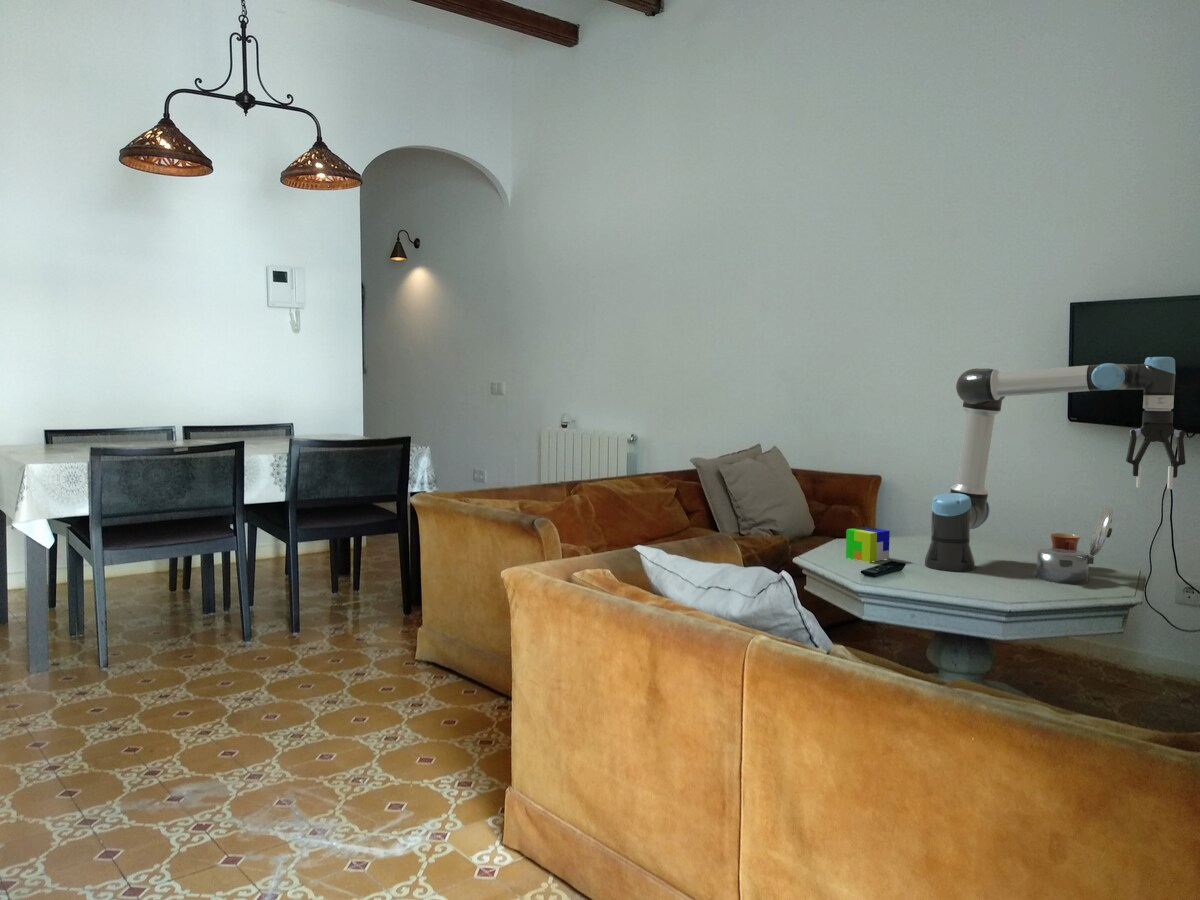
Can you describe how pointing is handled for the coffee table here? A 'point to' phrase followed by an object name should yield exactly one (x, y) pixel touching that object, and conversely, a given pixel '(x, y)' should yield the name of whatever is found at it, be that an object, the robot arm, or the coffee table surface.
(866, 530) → the puzzle toy
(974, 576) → the coffee table surface
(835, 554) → the coffee table surface
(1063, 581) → the pot
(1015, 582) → the coffee table surface
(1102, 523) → the lid
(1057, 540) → the mug
